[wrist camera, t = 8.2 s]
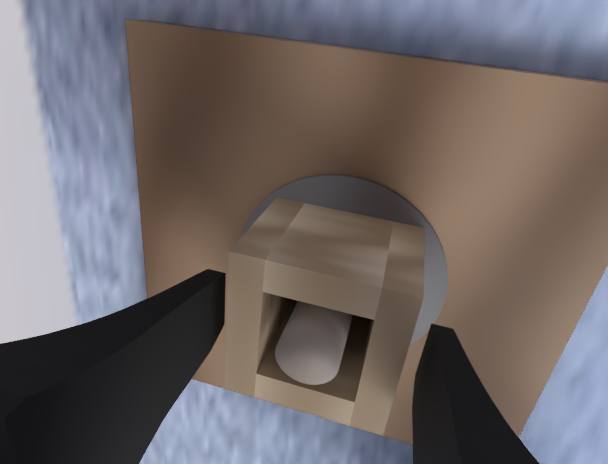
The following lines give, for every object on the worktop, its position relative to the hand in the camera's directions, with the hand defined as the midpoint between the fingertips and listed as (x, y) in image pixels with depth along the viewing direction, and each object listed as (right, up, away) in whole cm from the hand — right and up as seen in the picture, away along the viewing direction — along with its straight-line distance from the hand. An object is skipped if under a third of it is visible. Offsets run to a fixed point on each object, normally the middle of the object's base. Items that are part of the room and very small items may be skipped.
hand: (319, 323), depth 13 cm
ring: (+1, +1, +2) cm, 3 cm away
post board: (+1, +2, +3) cm, 4 cm away
